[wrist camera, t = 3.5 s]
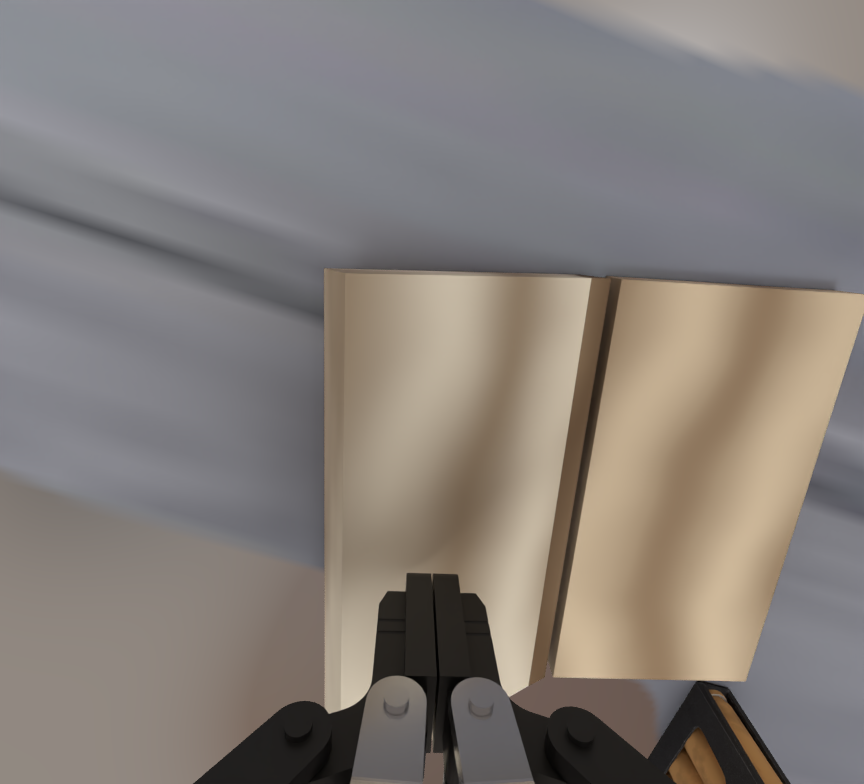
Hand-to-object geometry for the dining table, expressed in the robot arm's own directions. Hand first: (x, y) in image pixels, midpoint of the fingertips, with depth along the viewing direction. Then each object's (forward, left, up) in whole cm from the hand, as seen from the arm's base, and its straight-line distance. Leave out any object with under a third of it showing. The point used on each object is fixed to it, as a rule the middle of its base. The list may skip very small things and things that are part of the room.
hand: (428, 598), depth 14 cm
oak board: (-11, 0, -7) cm, 13 cm away
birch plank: (-1, 0, -5) cm, 5 cm away
